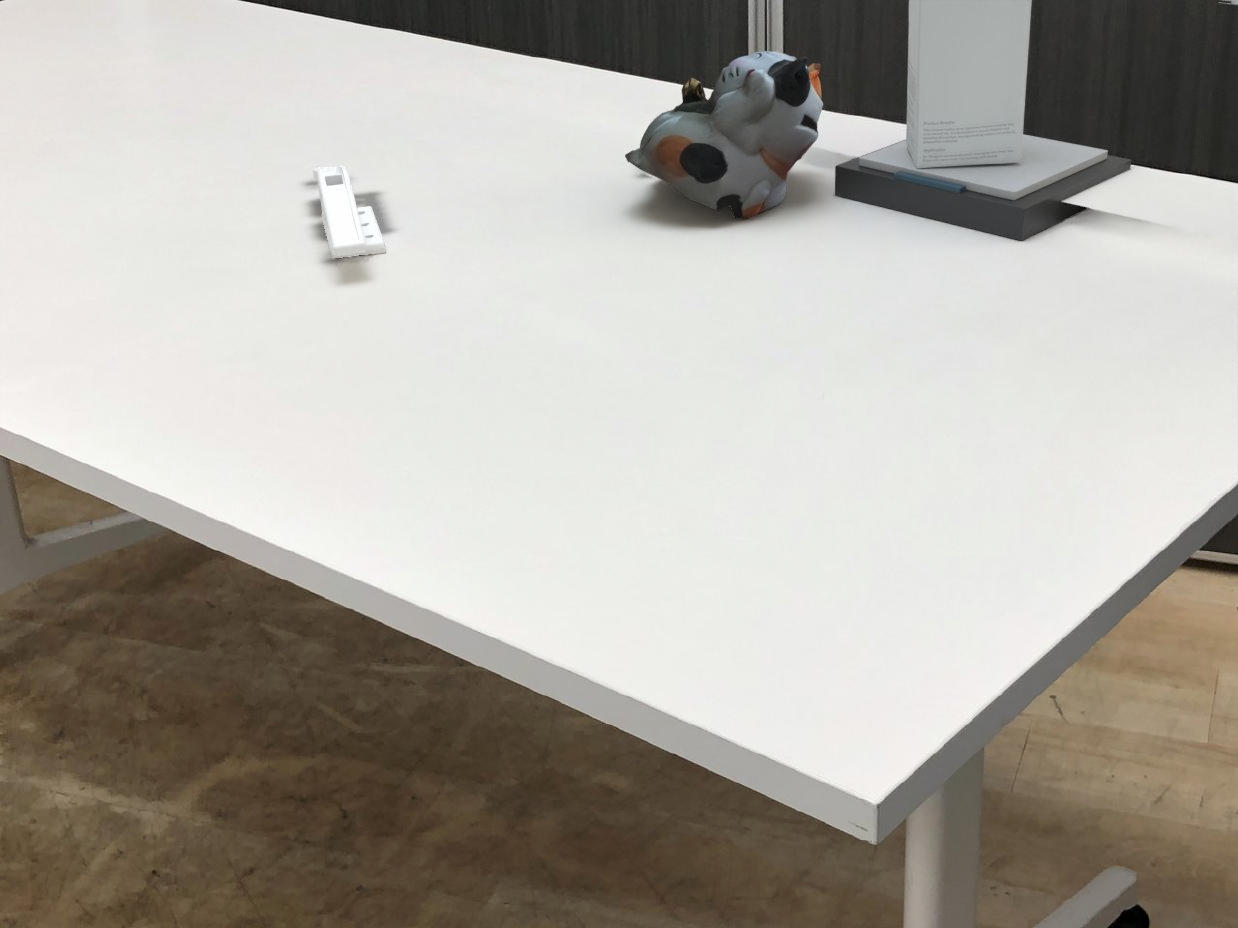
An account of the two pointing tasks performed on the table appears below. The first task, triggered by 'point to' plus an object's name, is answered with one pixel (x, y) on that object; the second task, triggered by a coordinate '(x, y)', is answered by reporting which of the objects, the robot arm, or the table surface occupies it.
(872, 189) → the scale
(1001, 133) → the cosmetic box
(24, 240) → the table surface
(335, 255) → the white intercom handset
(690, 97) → the lucky cat figurine
